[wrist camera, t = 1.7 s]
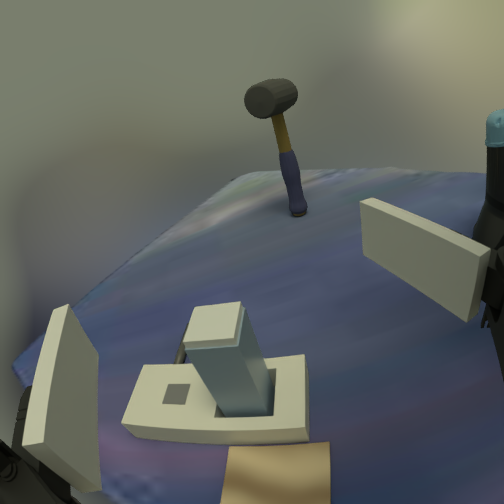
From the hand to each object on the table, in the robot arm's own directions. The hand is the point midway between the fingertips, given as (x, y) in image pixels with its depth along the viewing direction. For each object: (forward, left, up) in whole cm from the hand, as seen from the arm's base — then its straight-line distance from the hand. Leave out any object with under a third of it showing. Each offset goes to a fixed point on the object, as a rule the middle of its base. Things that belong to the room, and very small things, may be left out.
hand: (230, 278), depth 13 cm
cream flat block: (-13, -10, -23) cm, 28 cm away
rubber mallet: (-55, 0, -24) cm, 60 cm away
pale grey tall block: (-8, -6, -23) cm, 25 cm away
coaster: (+2, -3, -23) cm, 24 cm away
